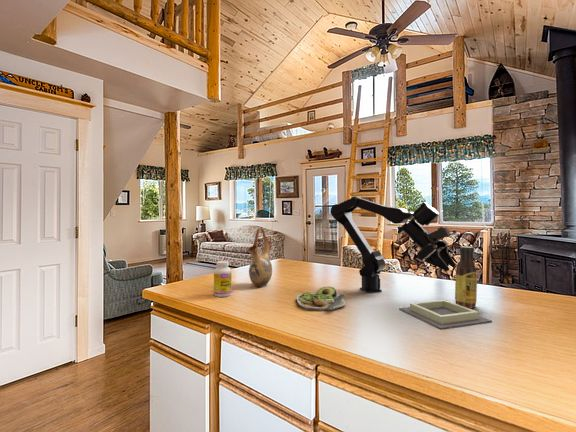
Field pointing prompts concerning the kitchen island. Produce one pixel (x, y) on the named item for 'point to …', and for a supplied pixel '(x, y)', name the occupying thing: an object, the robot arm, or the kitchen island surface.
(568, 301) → the kitchen island surface
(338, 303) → the salad plate
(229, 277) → the supplement bottle
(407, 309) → the rubber mat
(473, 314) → the bottle collar
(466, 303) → the sauce bottle
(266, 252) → the ceramic vessel
